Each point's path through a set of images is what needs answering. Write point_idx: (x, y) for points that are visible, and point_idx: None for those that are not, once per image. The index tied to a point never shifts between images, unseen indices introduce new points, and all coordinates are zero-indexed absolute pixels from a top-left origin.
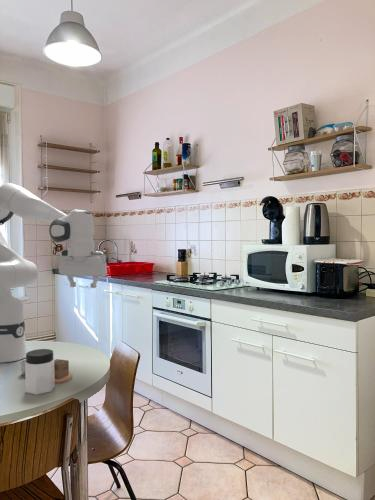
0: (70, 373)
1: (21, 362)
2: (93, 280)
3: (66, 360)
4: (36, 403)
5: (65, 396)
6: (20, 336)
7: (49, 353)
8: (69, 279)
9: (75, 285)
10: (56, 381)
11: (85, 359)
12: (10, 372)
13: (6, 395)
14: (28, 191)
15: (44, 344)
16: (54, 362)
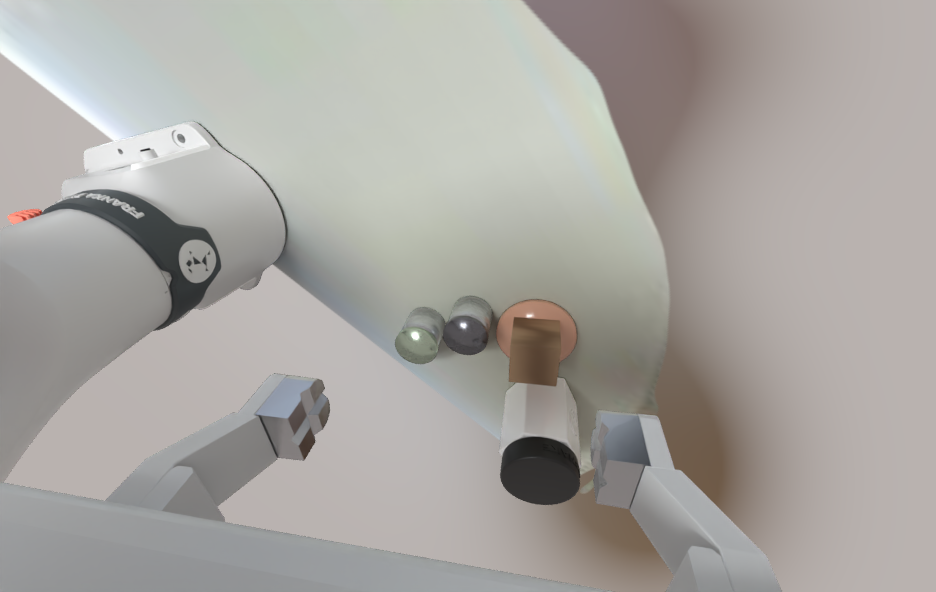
0: (558, 310)
1: (405, 358)
2: (670, 568)
3: (553, 350)
4: (584, 448)
5: None
6: (215, 249)
7: (577, 487)
8: (227, 496)
9: (313, 391)
10: None
11: (501, 131)
12: (368, 324)
13: (490, 429)
14: None
15: None
16: (527, 373)
